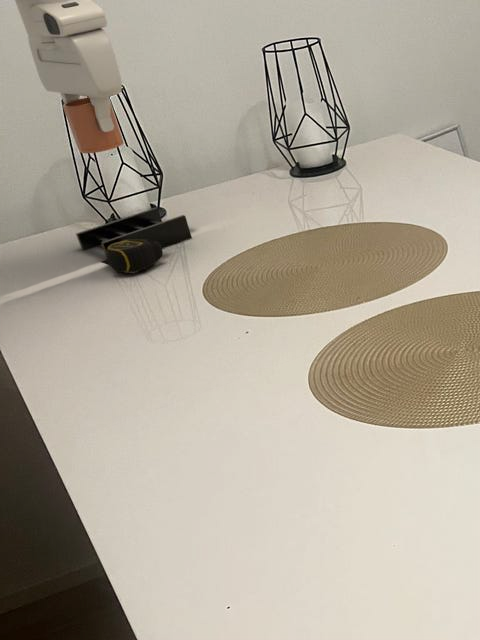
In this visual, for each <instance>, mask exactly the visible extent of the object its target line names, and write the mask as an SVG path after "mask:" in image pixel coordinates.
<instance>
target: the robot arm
mask: <svg viewBox="0 0 480 640" xmlns="http://www.w3.org/2000/svg"><path fill="white" fill-rule="evenodd" d="M14 1H15V4H16V7H17V9H18V11H19V14H20V17H21V18H20V19H21V20H22V24H23V26H24V28H25V31H26V34H27V39H28V44H29V45H28V46H29V49H30V53H31V55H32V59H33V62H34V65H35V68H36V72H37V74H38V78H39V80H40V82H41V84H42V86H43V88H44V89H45V90H46V91H47V92H51V93H57V94H58V93H59V94H60V96H61V99H62V102H63V104H66V103H68V102H71V101H74V100H77V99H81V97H85V98H87V97H89V98H90V101H91V103H92V105H94V108H95V113H96V118H95V121H96V124H97V127H98V129H99V130H100V131H102V132H108V131H112V130H113V129H114V125H113V122H112V119H111V112H110V102H111V100H110V101H109V99H110V97H113V96H117V95H120V94H121V93H122V88H123V87H122V86H123V85H122V77H121V73H120V70H119V66H118V62H117V59H116V55H115V52H114V48H113V45H112V43H111V40H110V38H109V35H108V33H107V32H106V31H105V30H104V28H107V26H108V21H107V17H106V14H105V12H104V10H103V9H102V7H100V6H99V5H98V4H97V3H95V2H94V1H92V0H14ZM108 97H109V98H108Z"/></svg>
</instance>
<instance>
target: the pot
mask: <svg viewBox="0 0 480 640" xmlns="http://www.w3.org/2000/svg"><path fill="white" fill-rule="evenodd" d="M108 98H109V101H110V112H111V119H112V122H113V125H114V129H113V130H112V131H108V132H102V131H100V130H99V129H98V127H97V124H96V121H95V118H96V113H95V108H94V105H92V103H91V101H90V98H89V97H83V98H79V99H77V100H74V101H71V102H68V103H66V104H65V103H63V104H62V109H63V111H64V115H65V116H66V119H67V122H68V125H69V128H70V131H71V133H72V137H73V139H74V142H75V144H76V147H77V150H78V152H79V153H80V154H95V153H101V152H107V151H110V150H113V149H117V148H118V147H121V146H122V145H124V138H123V135H122V132H121V130H120V125H119V123H118V120H117V116H116V113H115V110H114V108H113V104H112V101H111V99H110V96H109V97H108Z"/></svg>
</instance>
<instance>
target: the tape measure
mask: <svg viewBox="0 0 480 640" xmlns="http://www.w3.org/2000/svg"><path fill="white" fill-rule="evenodd" d="M106 252H107V258H108V262H109V264H110V265H109V266H110V268H112V270H113V271H115V272H117V273H126V274H137V273H138V272H140V271H141V270H145V269H148V268H149V267H151V266H152V265H154V264H155V263H157V262H158V261H159V260H160V259H161V258H162V257H163V255H164V252H163V248H162V247H161V245H160V243H159V242H157V241H153V240H146V239H124V240H122V241H121V242H117V243H114V244H111V245H110V246H109V247H108V248H107V250H106ZM107 258H106V259H107Z"/></svg>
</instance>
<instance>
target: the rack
mask: <svg viewBox="0 0 480 640" xmlns="http://www.w3.org/2000/svg"><path fill="white" fill-rule="evenodd" d="M160 213H161V212H160V210H159V208H158V207H153V208H149V209H146V210H143V211H140V212H138V213H135V214H134V213H133V214H131V215H129V216H125V217H122V218H120V219H116V220H113V221H110V222H107V223H104V224H100V225H98V226H95V227H92V228H89V229H86V230H82V231H79V232H77V233H75V235H76V238H77V241H78V243H79V246H80V249H81V251H83V252H85V251H88V250H90V249H94V248H99V249H102V250H103V253H104V255H105V258H106V259H105V260H101V261H100V263H102V264H105V265H107V266H110V264H109V262H108V258H107V252H106V250H107V248H108V247H109V246H110V245H111V244H114V243H117V242H121V241H122V240H124V239H146V240H153V241H157V242H159V243H160V245H161V247H162V249H165V248H168V247H171V246H174V245H177V244H180V243H182V242H185V241H188V240H190V239H193V236H192V233H191V230H190V227H189V223H188V220H187V217H186V215H185V214H182V215H179V216H175V217H173V218H170V219H167V220H164V221H163V220H162V217H161V214H160Z"/></svg>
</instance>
